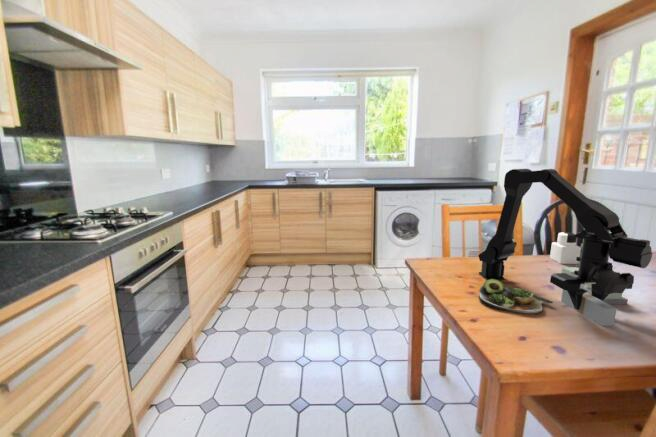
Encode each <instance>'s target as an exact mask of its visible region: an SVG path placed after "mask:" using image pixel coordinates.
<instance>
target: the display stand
mask: <svg viewBox="0 0 656 437" xmlns="http://www.w3.org/2000/svg"><path fill="white" fill-rule="evenodd" d="M578 270H579V267H577V266H576V267H575V266H573V267H572V266H571V267H562V268H561V273H566V274H568V275H571V276H573V277H578V275H575V274H574V271H578ZM583 289H584V290H586V291H587V292H586V293H588V294H590V295H592V288H591V284H584V288H583ZM604 302H606V303H608V304H609V305H611V306H613V305H615V306H617V305H628V299H627V298H626V297H624V296H623V293H612V294H609V295H608V296H607V297H606V298H605V299H604Z"/></svg>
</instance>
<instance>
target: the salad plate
mask: <svg viewBox="0 0 656 437" xmlns="http://www.w3.org/2000/svg"><path fill="white" fill-rule="evenodd" d="M478 294H479V295H478V299H479V301H480V302H481V303H482V304H483V305H485V306H487V307H489V308H492V309H495V310H500V311H506V312H510V313H511V312H512V313H518V314H529V315H530V314H531V315H532V314H538V313H541V312H543V311H544V310H543V304H553V301H552V300H550V299H546V298H543V297H541V296H538V295H537V294H536V293H534V292H532V291H530V290H527V289H522V288H520V287H518V288H514V287H510V286H508V285H504V283H503V282H502V281H500V280H496V279H489V280H487V279H486V280H485V281H484V283H483V285H481V286H480V289H479V293H478ZM514 306H522V307H527V308H528V309H524V310H523V309H515V308H512V307H514Z"/></svg>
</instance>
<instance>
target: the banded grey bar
mask: <svg viewBox="0 0 656 437" xmlns="http://www.w3.org/2000/svg"><path fill="white" fill-rule="evenodd" d="M560 299H561V300H560V302H562V303H563V304H565V305H566V306H568V307H570V308H571V309H573V310H575V311H576V312H578V313H580V314H582V315H583V316H585V317H586V318H587V319H590V320H591V321H593V322H594V323H597V324H598V325H599V326H601V327H614V325H615V320H616V315H617V311H618V308H617V307H615V306H613V305H609V304H608V303H606V302H604V301H602V300H600V299H598V298H596V297H594V296H592V295H590V294H588V293H584V294H583V296H582V301H581V306H580V309H579V310H576V309H575V308H574V305H573V303H572V301H571V298H570V296H569V293H568V291H567V290H563V289H562V294H561V298H560Z"/></svg>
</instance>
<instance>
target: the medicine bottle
mask: <svg viewBox="0 0 656 437" xmlns="http://www.w3.org/2000/svg"><path fill="white" fill-rule="evenodd" d="M575 234H576V233H573V232H568V231H566V232H565V231H563V232H562V231H561V232H558V234H557V240H556V241H554V242H551V247H550V253H549V254H550V255H549V258H550V259H551V260H553V261H554V262H556V263H558V264H560V265H579V264H580V262H579V261H577V260H576V258H577V257H580V251H581V247H580V246H579V245H577V239H578V238H577V237H575V236H574V235H575Z"/></svg>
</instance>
